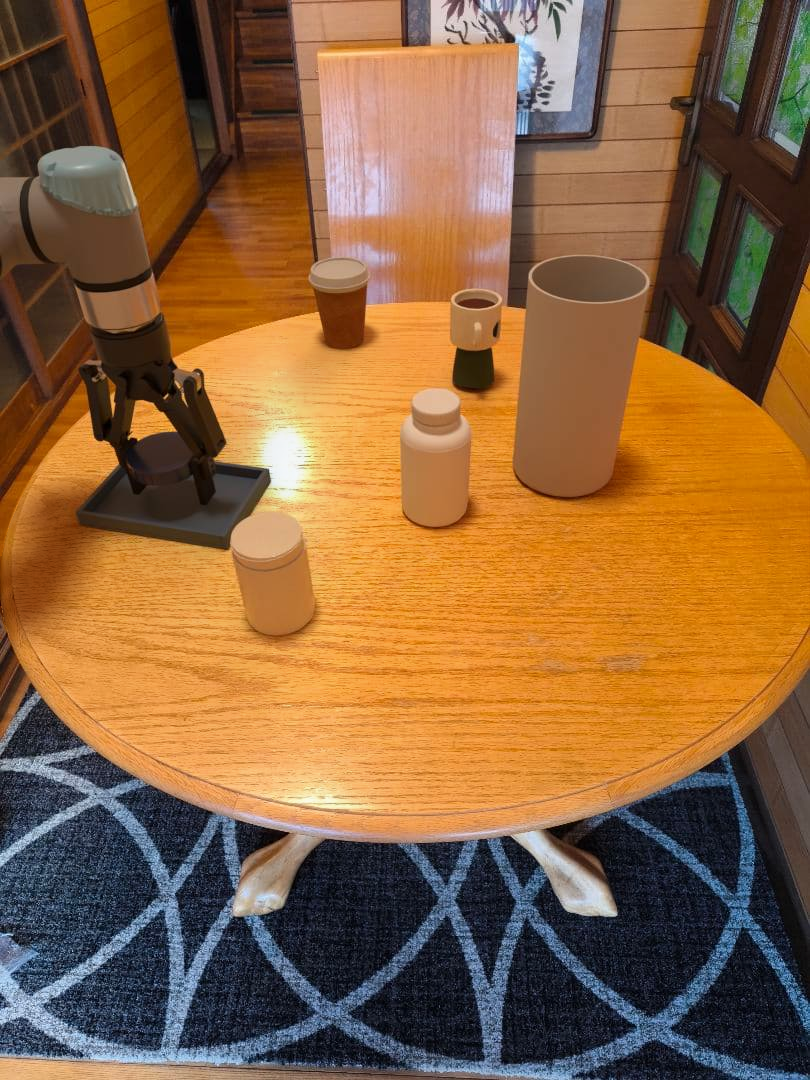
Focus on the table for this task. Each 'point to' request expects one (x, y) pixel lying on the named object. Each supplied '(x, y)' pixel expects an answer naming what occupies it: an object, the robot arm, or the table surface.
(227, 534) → the tray
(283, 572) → the jar
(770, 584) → the table surface
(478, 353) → the character mug
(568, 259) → the cylinder vase
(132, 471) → the lid
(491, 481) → the table surface
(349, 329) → the disposable coffee cup
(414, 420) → the pill bottle
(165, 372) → the robot arm
